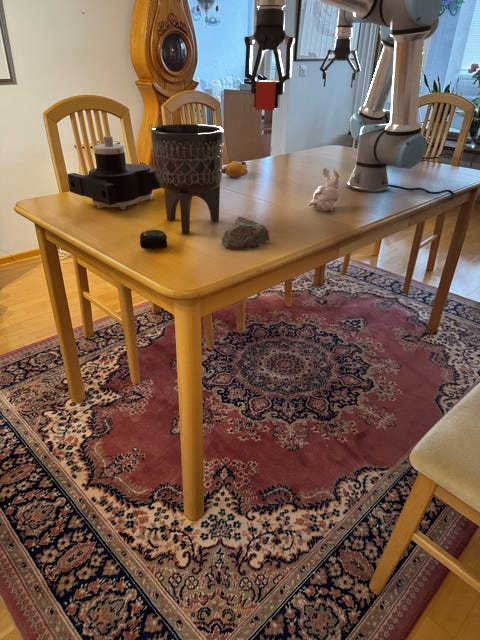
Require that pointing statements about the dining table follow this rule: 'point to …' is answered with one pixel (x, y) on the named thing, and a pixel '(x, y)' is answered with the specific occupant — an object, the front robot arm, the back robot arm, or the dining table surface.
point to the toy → (235, 169)
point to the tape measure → (153, 239)
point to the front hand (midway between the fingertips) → (266, 107)
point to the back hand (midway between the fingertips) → (338, 87)
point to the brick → (265, 95)
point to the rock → (245, 234)
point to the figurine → (326, 192)
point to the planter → (188, 167)
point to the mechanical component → (114, 178)
